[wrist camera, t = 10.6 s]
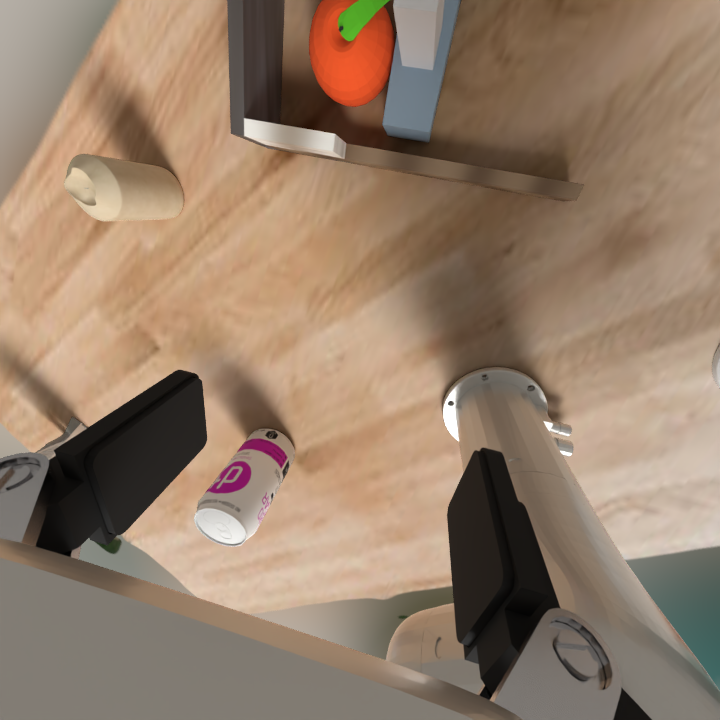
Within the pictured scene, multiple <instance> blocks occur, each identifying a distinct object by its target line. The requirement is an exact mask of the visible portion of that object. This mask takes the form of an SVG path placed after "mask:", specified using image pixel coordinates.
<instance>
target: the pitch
mask: <svg viewBox="0 0 720 720" xmlns="http://www.w3.org/2000/svg"><path fill="white" fill-rule="evenodd" d="M227 1H228V40H229V79H230V118H231V134H233V135H236V136H238V137H241V138H243V139H246V140H248V141H251V142H253V143H256V144H258V145H261V146H264V147H266V148H269V149H275V150H280V151H286V152H291V153H297V154H302V155H308V156H314V157H319V158H325V159H330V160H336V161H342V162H347V163H353V164H358V165H364V166H370V167H375V168H381V169H386V170H392V171H397V172H403V173H409V174H414V175H420V176H425V177H431V178H437V179H442V180H448V181H453V182H459V183H465V184H470V185H476V186H481V187H487V188H492V189H498V190H504V191H509V192H515V193H520V194H526V195H532V196H537V197H543V198H548V199H554V200H560V201H573V200H577V199H578V197H579V194H580V192H581V190H582V188H583V184H578V183H572V182H566V181H560V180H555V179H549V178H543V177H537V176H531V175H526V174H520V173H514V172H508V171H503V170H497V169H491V168H485V167H480V166H474V165H468V164H462V163H456V162H451V161H445V160H439V159H433V158H428V157H422V156H416V155H410V154H404V153H399V152H393V151H387V150H381V149H376V148H370V147H364V146H358V145H352V144H347V143H345V142H344V141H343V140H342V139H341V138H339V137H338V136H337V135H336V134H333V133H328V132H322V131H316V130H310V129H304V128H298V127H292V126H287V125H281V124H280V111H281V83H282V55H283V27H284V0H227Z"/></svg>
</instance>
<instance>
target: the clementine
mask: <svg viewBox="0 0 720 720" xmlns="http://www.w3.org/2000/svg"><path fill="white" fill-rule="evenodd" d="M388 1H390V0H322V1H321V3H320V4H319V5H318V7H317V10H316V12H315V14H314V17H313V20H312V25H311V30H310V36H309V54H310V60H311V65H312V68H313V71H314V73H315V76H316V78H317V81H318V83H319V84H320V86H321V87H322V89H323V90H324V92H325V93H326V94H327V95H328V96H329V97H330V98H332V99H333V100H334V101H336V102H338V103H340V104H343V105H345V106H353V107H357V106H360V105H364V104H366V103H368V102H370V101H371V100H373V99H374V98H375V97H376V96H377V95H378V94H379V93H380V92H381V91H382V90H383V88H384V86H385V84H386V82H387V81H388V79H389V76H390V73H391V68H392V62H393V56H394V49H395V40H394V30H393V26H392V23H391V20H390V16H389V14H388V12H387V10H386V8H385V7H384V5H385V4H386V3H387V2H388Z"/></svg>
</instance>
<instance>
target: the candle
mask: <svg viewBox="0 0 720 720" xmlns="http://www.w3.org/2000/svg"><path fill="white" fill-rule="evenodd" d="M64 187H65V189H66V190H67V191H68V193H69V194H70V195H71V196H72V197H73V198H74V199H75V201H76V202H77V203H78V204H79V206H80V207H81V208H82V209H83V210H84V211H85V212H86V213H88V214H89V215H90V216H92V217H93V218H95V219H97V220H100V221H129V220H158V219H171V218H175V217H177V216H178V215H179V214H180V213H181V211H182V209H183V206H184V195H183V190H182V188H181V185H180V183H179V182H178V180H177V179H176V177H175V176H174V175H173V174H172V173H171V172H170V171H168V170H167V169H165V168H162V167H159V166H155V165H150V164H143V163H137V162H131V161H125V160H119V159H113V158H107V157H101V156H95V155H89V154H80V155H77V156H75V157H74V158H73V159H72V160H71V162H70V164H69V167H68V170H67V175H66V179H65V182H64Z"/></svg>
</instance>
